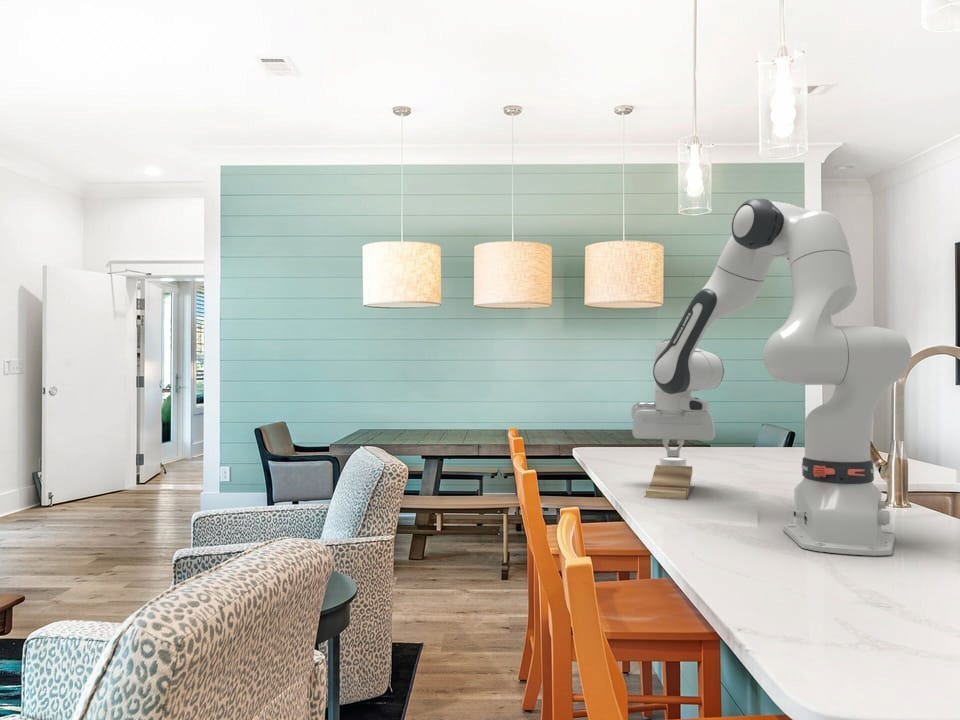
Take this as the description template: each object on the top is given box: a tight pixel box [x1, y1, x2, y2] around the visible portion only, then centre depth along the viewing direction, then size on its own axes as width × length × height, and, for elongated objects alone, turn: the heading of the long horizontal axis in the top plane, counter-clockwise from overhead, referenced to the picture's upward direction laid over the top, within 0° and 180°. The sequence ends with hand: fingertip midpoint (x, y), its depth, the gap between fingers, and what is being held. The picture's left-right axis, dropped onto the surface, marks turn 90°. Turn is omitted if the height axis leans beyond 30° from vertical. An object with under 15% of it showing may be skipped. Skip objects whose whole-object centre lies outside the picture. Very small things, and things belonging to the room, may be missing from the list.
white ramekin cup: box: [659, 456, 687, 466], centre depth 193 cm, size 7×7×7 cm
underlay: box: [643, 485, 696, 501], centre depth 178 cm, size 20×10×1 cm, turn 159°
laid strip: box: [645, 484, 688, 501], centre depth 172 cm, size 7×9×2 cm
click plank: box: [649, 464, 693, 494], centre depth 181 cm, size 12×9×2 cm
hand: (673, 457), depth 184 cm, fingers closed
